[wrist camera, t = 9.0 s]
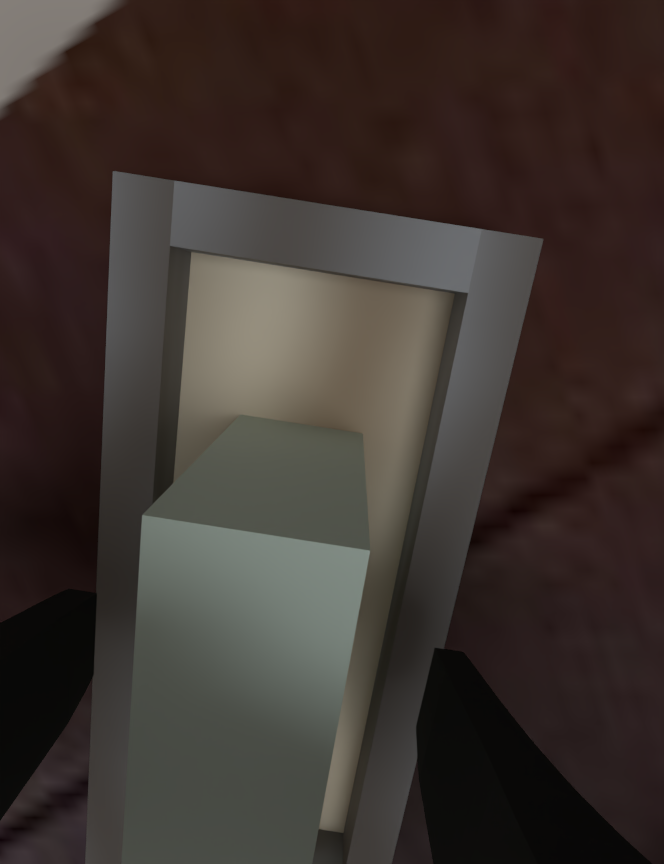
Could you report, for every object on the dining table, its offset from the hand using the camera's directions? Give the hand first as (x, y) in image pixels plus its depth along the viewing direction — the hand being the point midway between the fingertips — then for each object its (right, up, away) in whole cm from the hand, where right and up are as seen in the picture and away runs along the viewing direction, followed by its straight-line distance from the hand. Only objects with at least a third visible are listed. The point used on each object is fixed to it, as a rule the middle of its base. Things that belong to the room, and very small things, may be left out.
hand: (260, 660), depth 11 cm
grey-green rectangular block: (0, +1, +3) cm, 3 cm away
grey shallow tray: (0, +1, +4) cm, 4 cm away
